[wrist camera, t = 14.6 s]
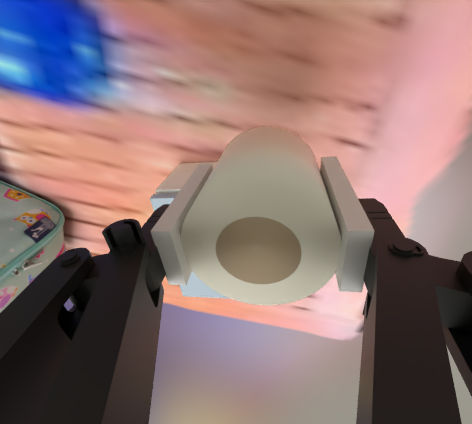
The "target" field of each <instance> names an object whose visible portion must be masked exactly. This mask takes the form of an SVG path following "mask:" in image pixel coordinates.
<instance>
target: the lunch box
mask: <svg viewBox="0 0 472 424" xmlns="http://www.w3.org/2000/svg"><path fill="white" fill-rule="evenodd" d="M64 222H65V217H64V215H63V213H62V212H61V210H60V209H59V208H58V207H56V206H55V205H53V204H52V203H50V202H48V201H46V200H44V199H41V198H39V197H37V196H35V195H33V194H31V193H29V192H26V191H24V190H22V189H20V188H17V187H15V186H12V185H10V184H8V183H5V182H3V181H1V180H0V313H1V312H2V311H3V310H4V309H5V308H6V307H7V306H8V305H9V304H10V303H11V302H12V301H13V300H14V299H15V298H16V297H17V296H18V295H19V294H20V293H21V292H22V291H23V290H24V289H25V288H26V287H27V286H28V285H29V284H30V283H31V282H32V281H33V280H34V279H35V278H36V277H37V276H38V275H39V274H40V273H41V272H42V271H43V270H44V269H45V268H46V267H47V266H48V265H49V264H50V263H51V262H52V261H53V260H54V259H56V258H57V257H58V256H59V255H61V254H63V253H64V252H65V242H64V233H63V225H64Z"/></svg>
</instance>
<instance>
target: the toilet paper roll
mask: <svg viewBox="0 0 472 424" xmlns="http://www.w3.org/2000/svg"><path fill="white" fill-rule="evenodd" d="M181 242H182V246H183V249H184V253H185V257H186V260H187V263H188V265H189V266H190V268H191V269H192V271H193V272H194V273H195V274H196V276H197V277H198V278H199V279H200V280H201V281H202V282H204V283H205V284H206V285H207V286H209V287H210V288H211V289H213V290H214V291H216V292H218V293H220V294H222V295H224V296H226V297H228V298H231V299H233V300H236V301H240V302H244V303H249V304H255V305H280V304H286V303H291V302H294V301H298V300H300V299H303V298H306V297H308V296H309V295H311V294H313V293H315V292H316V291H318V290H319V289H321V288H322V287H323V286H324V285H325V284H326V283H327V282H328V281H329V280H330V279H331V278H332V276H333V275H334V273H335V271H336V270H337V268H338V265H339V258H340V250H341V243H342V241H341V235H340V232H339V229H338V226H337V222H336V219H335V216H334V213H333V210H332V207H331V204H330V201H329V198H328V195H327V192H326V188H325V185H324V182H323V179H322V176H321V173H320V170H319V167H318V164H317V161H316V157H315V155H314V153H313V151H312V149H311V148H310V146H309V145H308V144H307V143H306V142H305V141H304V140H303V139H302V138H301V137H300V136H298V135H297V134H295V133H293V132H292V131H289V130H287V129H284V128H280V127H274V126H262V127H256V128H253V129H249V130H247V131H245V132H243V133H241V134H240V135H238V136H237V137H235V138H234V139H233V140H232V141H231V142H230V143H229V144H228V146H227V147H226V148H225V150H224V152H223V153H222V155H221V157H220V158H219V160H218V162H217V164H216V165H215V167H214V169H213V170H212V172H211V174H210V175H209V177H208V179H207V181H206V182H205V184H204V186H203V187H202V189H201V191H200V193H199V194H198V196H197V198H196V199H195V201H194V203H193V205H192V206H191V208H190V210H189V211H188V213H187V215H186V217H185V219H184V222H183V226H182V231H181Z"/></svg>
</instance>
